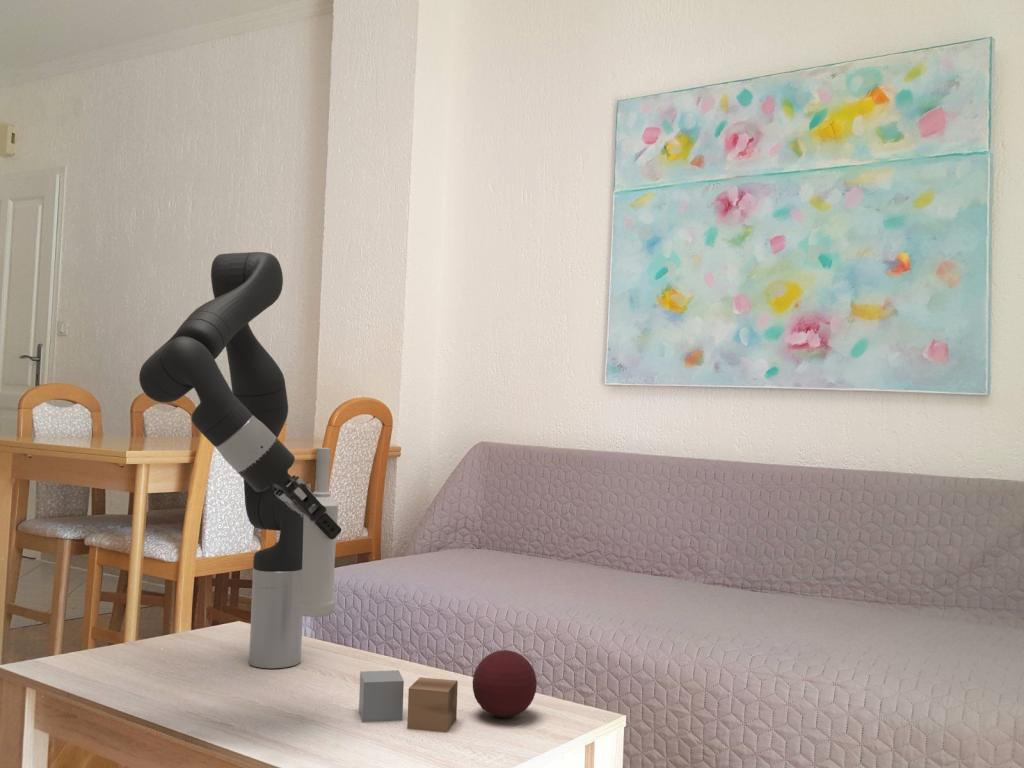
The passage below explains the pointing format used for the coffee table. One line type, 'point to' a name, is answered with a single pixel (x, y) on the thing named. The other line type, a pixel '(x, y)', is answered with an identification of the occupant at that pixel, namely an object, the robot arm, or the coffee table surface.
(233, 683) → the coffee table surface
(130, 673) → the coffee table surface
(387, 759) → the coffee table surface
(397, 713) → the slate grey cube
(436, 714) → the walnut cube
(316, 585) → the bottle
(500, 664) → the decorative ball
